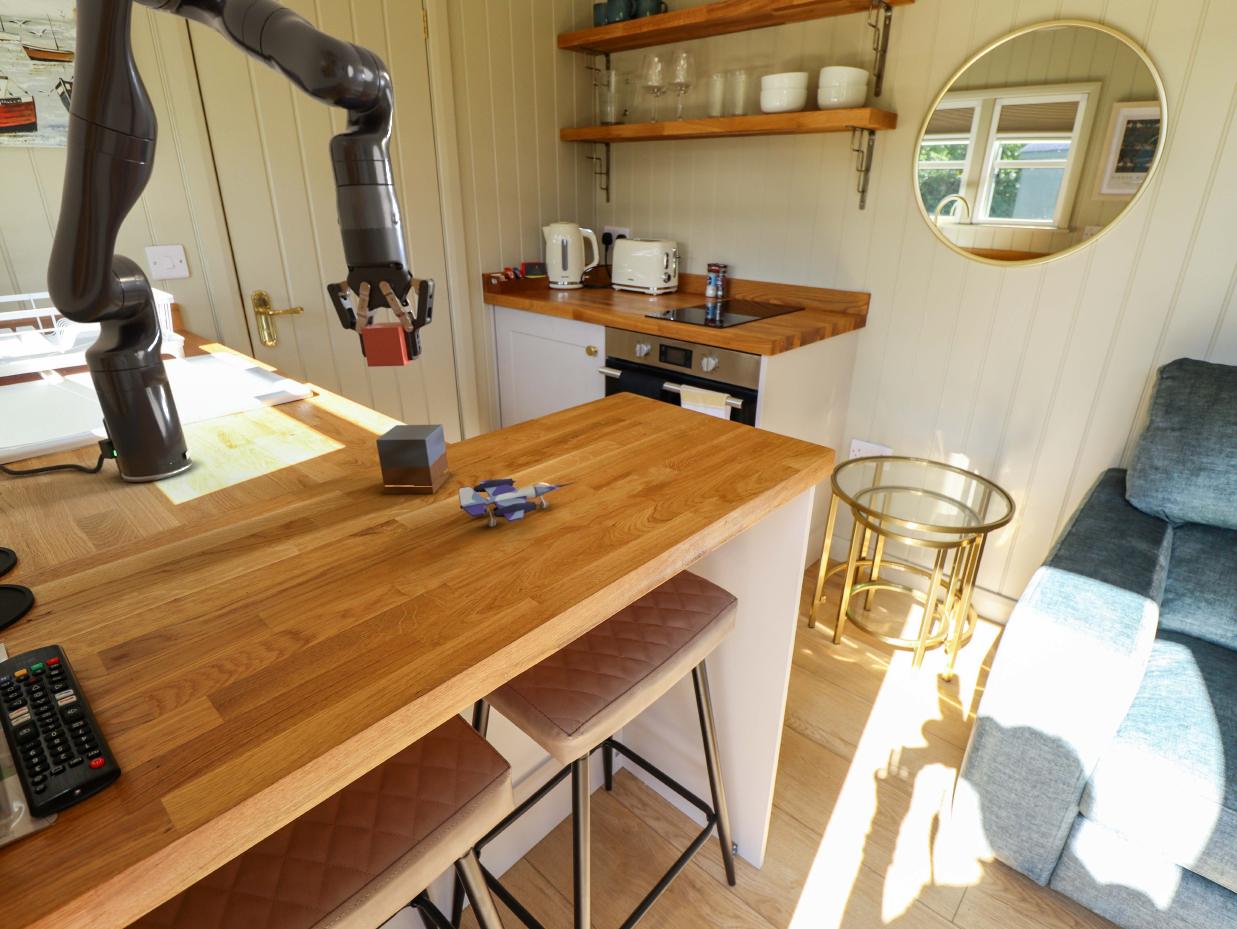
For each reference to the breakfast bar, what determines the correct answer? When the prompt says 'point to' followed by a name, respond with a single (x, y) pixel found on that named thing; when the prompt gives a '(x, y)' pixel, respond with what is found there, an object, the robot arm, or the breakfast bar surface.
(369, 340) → the toy block
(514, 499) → the toy airplane
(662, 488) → the breakfast bar surface
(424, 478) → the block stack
